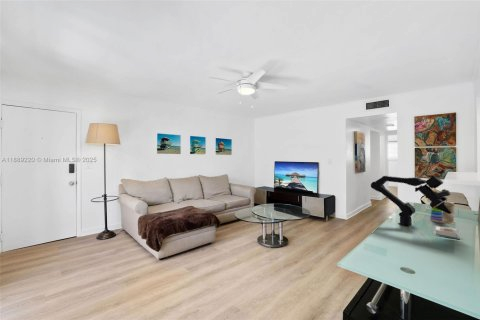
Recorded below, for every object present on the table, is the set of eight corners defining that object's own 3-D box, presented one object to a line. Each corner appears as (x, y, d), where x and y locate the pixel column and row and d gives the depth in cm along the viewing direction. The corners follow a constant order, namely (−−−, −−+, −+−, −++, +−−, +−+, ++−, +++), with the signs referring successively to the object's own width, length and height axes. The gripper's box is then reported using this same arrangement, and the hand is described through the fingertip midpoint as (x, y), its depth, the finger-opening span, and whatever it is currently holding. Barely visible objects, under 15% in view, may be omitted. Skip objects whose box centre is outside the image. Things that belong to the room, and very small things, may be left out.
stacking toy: (438, 220, 166) (438, 196, 166) (447, 223, 158) (447, 198, 158) (427, 220, 167) (427, 195, 166) (435, 223, 159) (435, 197, 158)
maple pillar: (442, 222, 138) (442, 202, 137) (443, 221, 140) (444, 201, 140) (452, 224, 134) (452, 203, 134) (453, 223, 137) (454, 202, 137)
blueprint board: (460, 240, 126) (460, 234, 126) (432, 235, 135) (432, 229, 135) (459, 230, 144) (459, 224, 143) (434, 226, 152) (434, 221, 152)
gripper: (436, 186, 134) (462, 207, 126) (443, 184, 146) (466, 203, 137) (420, 197, 141) (443, 218, 132) (428, 194, 152) (449, 213, 143)
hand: (451, 212), depth 136 cm, fingers closed on maple pillar, 5 cm apart
